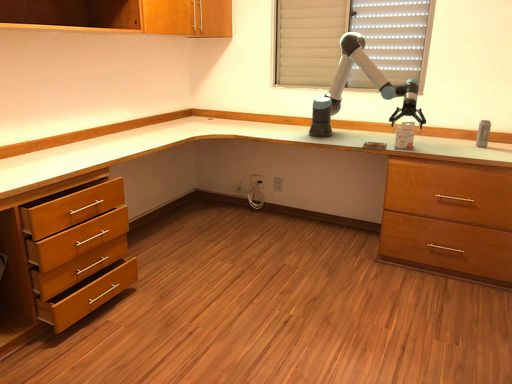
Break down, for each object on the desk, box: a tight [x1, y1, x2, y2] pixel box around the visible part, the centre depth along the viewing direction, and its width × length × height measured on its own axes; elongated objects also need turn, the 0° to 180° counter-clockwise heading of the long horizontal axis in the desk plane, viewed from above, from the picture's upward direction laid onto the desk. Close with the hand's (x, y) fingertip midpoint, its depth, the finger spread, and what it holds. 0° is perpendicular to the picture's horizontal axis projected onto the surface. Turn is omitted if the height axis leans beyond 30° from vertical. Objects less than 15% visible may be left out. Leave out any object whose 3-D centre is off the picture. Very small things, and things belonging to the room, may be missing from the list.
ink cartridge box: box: [394, 121, 416, 148], centre depth 240 cm, size 9×5×15 cm, turn 101°
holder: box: [362, 141, 387, 150], centre depth 246 cm, size 12×13×2 cm
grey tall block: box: [475, 119, 492, 149], centre depth 243 cm, size 6×6×15 cm
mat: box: [393, 146, 414, 152], centre depth 242 cm, size 10×12×1 cm
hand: (405, 132), depth 242 cm, fingers open, 13 cm apart
